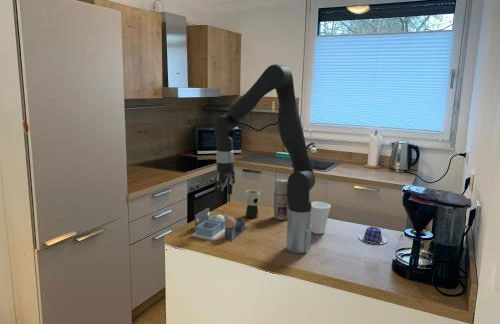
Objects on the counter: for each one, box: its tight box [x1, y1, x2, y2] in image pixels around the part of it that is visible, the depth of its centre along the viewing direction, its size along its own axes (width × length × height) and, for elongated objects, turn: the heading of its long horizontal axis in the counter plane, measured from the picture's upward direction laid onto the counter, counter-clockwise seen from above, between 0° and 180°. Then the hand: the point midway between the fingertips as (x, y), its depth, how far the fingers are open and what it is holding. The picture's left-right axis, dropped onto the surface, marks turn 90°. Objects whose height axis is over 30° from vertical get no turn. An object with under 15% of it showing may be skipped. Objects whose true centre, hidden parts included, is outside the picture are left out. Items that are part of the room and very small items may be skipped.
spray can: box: [273, 178, 288, 221], centre depth 196 cm, size 8×8×20 cm
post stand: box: [221, 218, 248, 242], centre depth 176 cm, size 5×16×5 cm, turn 157°
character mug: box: [244, 189, 261, 218], centre depth 197 cm, size 11×7×13 cm, turn 149°
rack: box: [191, 213, 230, 241], centre depth 179 cm, size 11×20×4 cm, turn 157°
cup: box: [310, 201, 332, 235], centre depth 179 cm, size 10×10×13 cm
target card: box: [194, 207, 211, 233], centre depth 181 cm, size 1×13×8 cm, turn 157°
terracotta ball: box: [224, 216, 237, 229], centre depth 170 cm, size 5×5×5 cm
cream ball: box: [214, 214, 225, 222], centre depth 183 cm, size 5×5×5 cm
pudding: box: [358, 226, 388, 245], centre depth 174 cm, size 12×12×5 cm
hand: (225, 196), depth 176 cm, fingers open, 8 cm apart
